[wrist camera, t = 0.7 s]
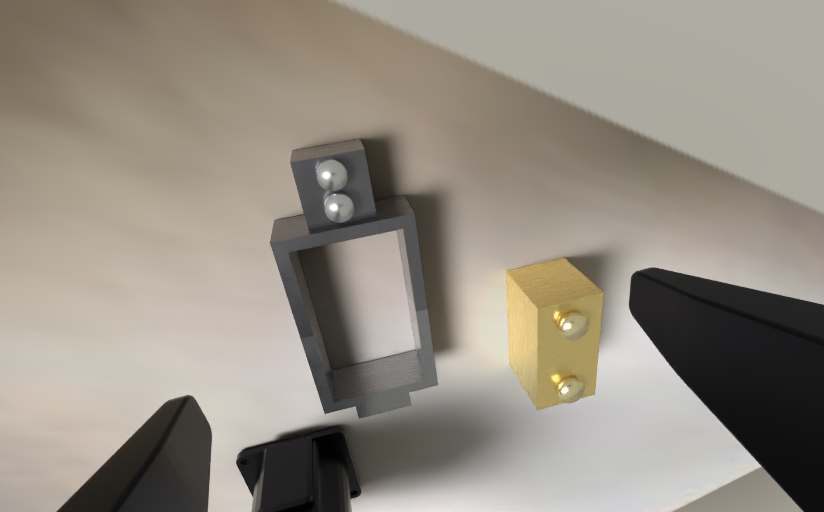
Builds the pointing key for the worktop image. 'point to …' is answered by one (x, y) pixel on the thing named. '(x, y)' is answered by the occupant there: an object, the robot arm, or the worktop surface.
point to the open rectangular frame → (339, 221)
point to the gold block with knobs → (553, 331)
